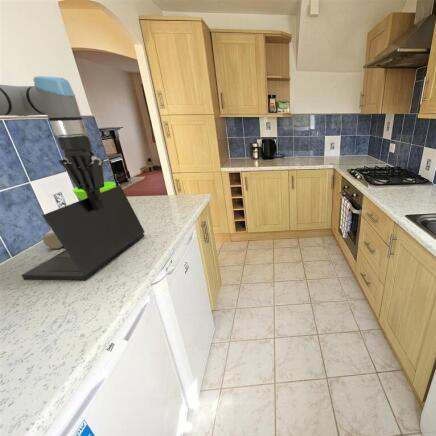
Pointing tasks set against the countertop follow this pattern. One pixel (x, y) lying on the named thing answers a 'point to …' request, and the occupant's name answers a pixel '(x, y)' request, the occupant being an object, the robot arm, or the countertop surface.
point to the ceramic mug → (52, 240)
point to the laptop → (66, 267)
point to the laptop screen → (95, 228)
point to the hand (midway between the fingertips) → (99, 208)
